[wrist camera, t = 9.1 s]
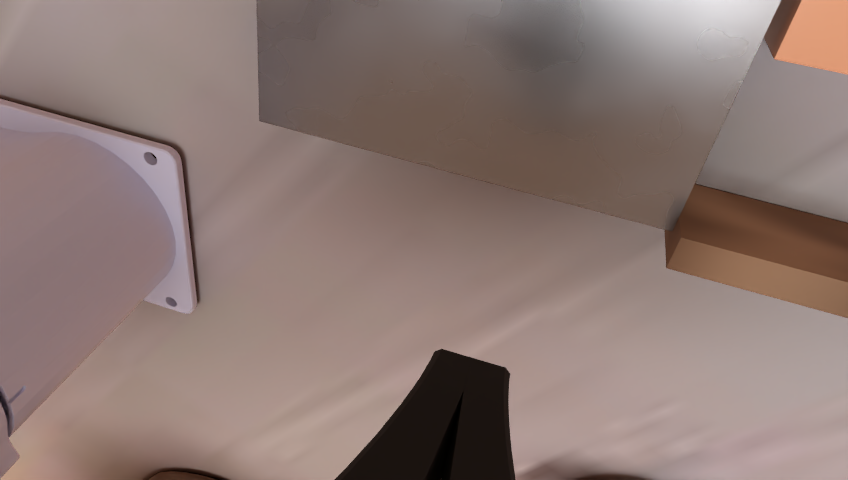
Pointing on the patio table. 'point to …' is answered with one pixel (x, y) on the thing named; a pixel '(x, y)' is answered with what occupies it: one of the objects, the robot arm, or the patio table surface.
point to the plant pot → (178, 476)
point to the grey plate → (519, 88)
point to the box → (762, 249)
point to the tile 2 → (811, 34)
